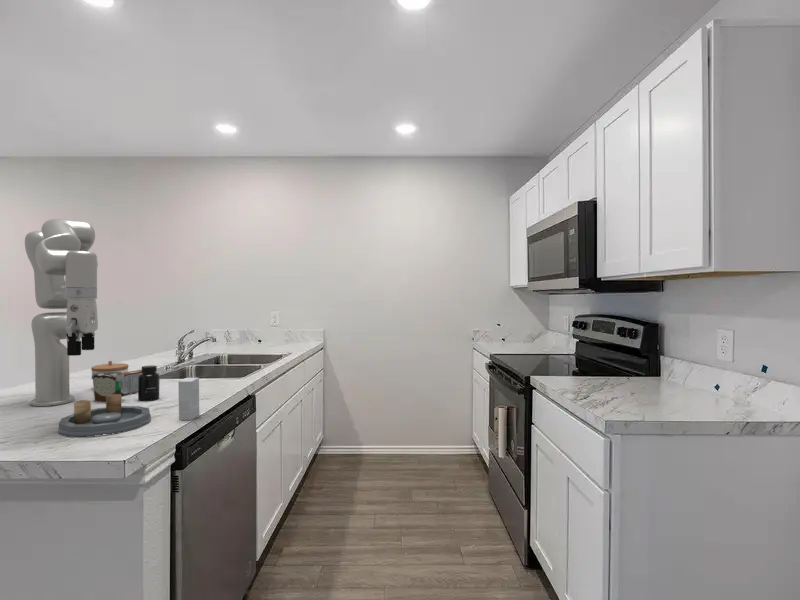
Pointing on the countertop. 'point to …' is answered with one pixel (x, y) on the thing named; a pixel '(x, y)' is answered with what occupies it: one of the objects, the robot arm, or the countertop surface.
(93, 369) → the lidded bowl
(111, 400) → the walnut bead
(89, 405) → the oak bead
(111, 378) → the food container
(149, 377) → the supplement bottle
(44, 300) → the robot arm
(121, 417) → the slate tray
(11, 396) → the countertop surface
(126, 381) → the tin
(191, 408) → the skincare box
